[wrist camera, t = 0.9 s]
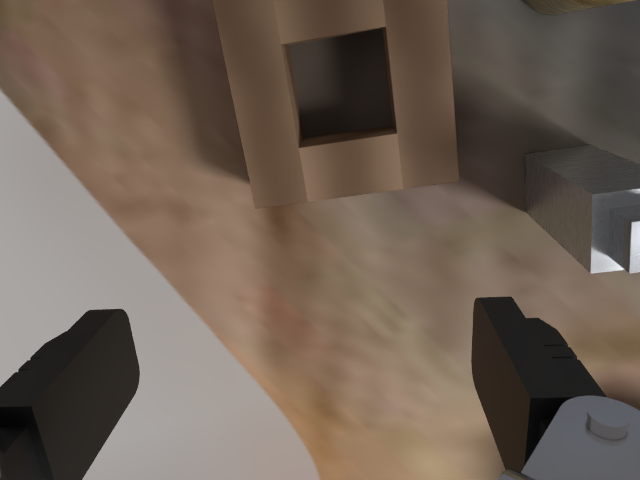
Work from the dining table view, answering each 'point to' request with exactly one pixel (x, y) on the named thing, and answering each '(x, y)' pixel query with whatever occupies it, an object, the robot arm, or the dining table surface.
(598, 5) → the round bit
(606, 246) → the square bit
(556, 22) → the dining table surface
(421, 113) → the socket block
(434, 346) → the dining table surface
